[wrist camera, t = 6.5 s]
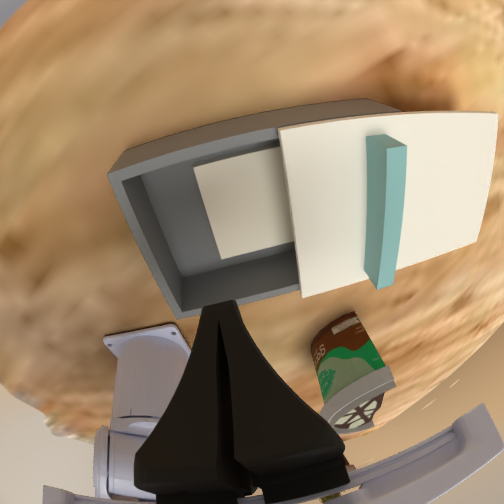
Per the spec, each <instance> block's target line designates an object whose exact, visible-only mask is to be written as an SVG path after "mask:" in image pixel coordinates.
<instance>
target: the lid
mask: <svg viewBox="0 0 504 504" xmlns="http://www.w3.org/2000/svg"><path fill="white" fill-rule="evenodd" d="M497 127H498V113H495V112H490V111H416V112H398V113H384V114H373V115H363V116H354V117H345V118H337V119H330V120H323V121H316V122H310V123H304V124H298V125H292V126H287V127H281V128H277V129H278V135H279V141H280V147H281V153H282V159H283V166H284V172H285V179H286V185H287V192H288V199H289V206H290V213H291V220H292V228H293V235H294V243H295V251H296V259H297V268H298V276H299V285H300V293H301V296H302V298H305V297H308V296H312V295H316V294H319V293H323V292H326V291H330V290H333V289H336V288H340V287H343V286H347V285H350V284H353V283H357V282H360V281H363V280H366V279H370V280H371V282H372V283H373V285H374V286H375V288H376V289H377V290H378V289H381V288H384V287H387V286H390V285H393V282H394V276H395V270H398V269H401V268H404V267H407V266H410V265H413V264H416V263H419V262H421V261H424V260H427V259H430V258H433V257H436V256H439V255H441V254H444V253H447V252H450V251H452V250H455V249H458V248H461V247H463V246H466V245H469V244H471V243H474V242H476V241H477V238H478V234H479V231H480V227H481V223H482V219H483V215H484V211H485V206H486V202H487V197H488V192H489V187H490V182H491V176H492V170H493V163H494V156H495V148H496V138H497Z"/></svg>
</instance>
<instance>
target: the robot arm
mask: <svg viewBox="0 0 504 504" xmlns="http://www.w3.org/2000/svg"><path fill="white" fill-rule="evenodd" d="M103 342H104V344H105V345H106V346H107V347H108V348H109V349H110V351H111V352H112V353H113V354H114V355H115V356H116V357H117V359H118V361H117V369H116V377H115V385H114V395H113V405H112V417H111V422H110V430H108V426H104V425H102V426H101V428H99V429H97V430H96V433H95V443H94V460H93V482H94V483H93V484H94V487H95V497H89V496H83V495H77V494H73V493H72V492H68V491H66V490H63V489H59V488H54V487H50V486H46V485H44V486H43V504H298V503H302V502H306V501H310V500H314V499H318V498H322V497H325V496H329V495H332V494H335V493H338V492H342V491H345V490H347V489H350V488H353V487H356V486H359V485H361V486H360V487H359V490H357V491H354V492H351V493H348V494H345V495H343V496H340V497H337V498H334V499H331V500H327V501H325V502H324V504H428V503H430V502H431V501H433V500H435V499H437V498H438V497H440V496H441V495H443V494H445V493H446V492H448V491H449V490H451V489H452V488H454V487H455V486H457V485H458V484H460V483H461V482H462V481H464V480H465V479H466V478H468V477H470V476H471V475H472V474H474V473H475V472H476V471H477V470H479V469H480V468H482V467H483V466H484V465H486V464H487V463H488V462H490V461H491V460H492V459H493V458H495V457H496V456H497V455H499V454H500V453H501V452H502V451H503V450H504V443H503V441H502V439H501V437H500V435H499V432H498V430H497V428H496V426H495V424H494V422H493V420H492V418H491V417H490V414H489V412H488V410H487V409H486V406H485V405H484V403H481V404H479V405H478V406H476V407H475V408H473V409H472V410H471V411H469V412H467V413H466V414H464V415H463V416H461V417H460V418H458V419H457V420H456V421H455V422H454V423H453V424H452V425H451V426H449V427H448V428H446V429H444V430H442V431H441V432H439V433H437V434H435V435H433V436H432V437H430V438H428V439H426V440H424V441H422V442H420V443H418V444H416V445H414V446H412V447H410V448H408V449H406V450H404V451H402V452H399V453H397V454H395V455H393V456H390V457H388V458H386V459H383V460H381V461H378V462H376V463H374V464H371V465H368V466H366V467H363V468H360V469H357V470H355V471H352V472H349V473H347V470H346V466H345V464H346V463H345V460H344V457H343V452H344V450H345V445H344V443H343V441H342V439H341V438H340V436H339V435H338V434H337V432H336V431H335V430H334V429H333V428H332V427H331V425H330V424H329V423H328V421H326V420H325V419H324V418H323V417H321V416H320V415H319V414H318V413H317V412H315V411H314V410H313V409H312V408H311V407H310V406H309V405H307V404H306V403H305V402H304V401H303V400H302V399H301V398H300V397H299V396H298V395H297V394H296V393H295V392H294V391H293V390H292V389H291V388H290V387H289V386H288V385H287V384H286V383H285V382H284V381H283V379H282V378H281V377H280V376H279V375H278V374H277V373H276V371H275V370H274V369H273V368H272V366H271V365H270V364H269V363H268V361H267V360H266V359H265V357H264V356H263V354H262V353H261V351H260V350H259V349H258V347H257V346H256V344H255V342H254V341H253V339H252V337H251V336H250V334H249V332H248V331H247V329H246V327H245V325H244V323H243V320H242V317H241V314H240V311H239V308H238V305H237V302H236V301H235V300H229V301H224V302H220V303H216V304H212V305H207V306H204V307H203V308H202V310H201V316H200V321H199V325H198V329H197V333H196V337H195V340H194V343H193V347H192V350H191V349H190V348H189V346H188V344H187V343H186V341H185V339H184V338H183V336H182V334H181V333H180V331H179V329H178V328H177V326H176V325H174V324H167V325H162V326H158V327H153V328H148V329H143V330H138V331H132V332H127V333H122V334H116V335H111V336H106V337H104V338H103ZM258 487H259V488H261V489H262V491H263V495H257V496H251V497H245V496H249V495H252V494H253V493H254V492H255V491H256V490H257V488H258Z"/></svg>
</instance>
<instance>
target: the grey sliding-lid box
mask: <svg viewBox="0 0 504 504" xmlns="http://www.w3.org/2000/svg"><path fill="white" fill-rule="evenodd" d="M398 112H402V111H401V110H399V109H396V108H393V107H390V106H388V105H385V104H382V103H379V102H376V101H373V100H370V99H354V100H344V101H334V102H326V103H318V104H310V105H304V106H297V107H291V108H285V109H279V110H273V111H268V112H263V113H258V114H253V115H248V116H243V117H239V118H234V119H230V120H226V121H222V122H218V123H214V124H210V125H206V126H202V127H198V128H195V129H191V130H187V131H184V132H180V133H177V134H174V135H170V136H167V137H164V138H161V139H158V140H154V141H151V142H148V143H145V144H142V145H139V146H137V147H134V148H131V149H128V150H125V151H124V152H123V154H122V155H121V156H120V158H119V159H118V160H117V161H116V163H115V164H114V165H113V167H112V168H111V169H110V171H109V172H108V173H107V176H108V179H109V181H110V184H111V186H112V189H113V191H114V193H115V196H116V198H117V200H118V203H119V205H120V207H121V210H122V212H123V214H124V216H125V219H126V221H127V223H128V225H129V227H130V230H131V232H132V234H133V236H134V238H135V240H136V242H137V244H138V246H139V249H140V251H141V253H142V255H143V257H144V259H145V261H146V263H147V265H148V267H149V269H150V271H151V273H152V275H153V277H154V279H155V280H156V282H157V284H158V286H159V288H160V290H161V292H162V294H163V296H164V297H165V299H166V301H167V303H168V305H169V307H170V308H171V310H172V312H173V314H174V316H175V317H176V319H177V320H178V319H182V318H187V317H191V316H196V315H200V314H201V310H202V308H203V307H204V306H207V305H212V304H216V303H220V302H224V301H229V300H235V301H236V302H237V305H238V306H239V305H243V304H247V303H251V302H255V301H259V300H263V299H267V298H271V297H274V296H278V295H282V294H286V293H290V292H293V291H297V290H300V285H299V276H298V268H297V259H296V251H295V243H294V235H293V228H292V220H291V213H290V206H289V199H288V192H287V185H286V179H285V172H284V166H283V159H282V153H281V147H280V141H279V135H278V129H277V128H281V127H287V126H292V125H298V124H304V123H310V122H316V121H323V120H330V119H337V118H345V117H354V116H363V115H373V114H384V113H398Z"/></svg>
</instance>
